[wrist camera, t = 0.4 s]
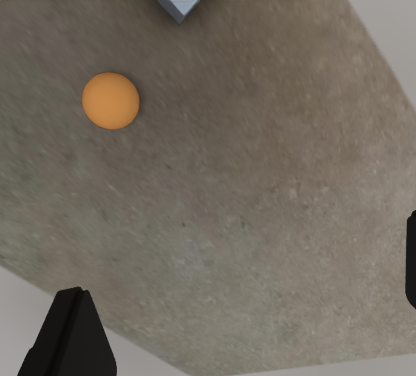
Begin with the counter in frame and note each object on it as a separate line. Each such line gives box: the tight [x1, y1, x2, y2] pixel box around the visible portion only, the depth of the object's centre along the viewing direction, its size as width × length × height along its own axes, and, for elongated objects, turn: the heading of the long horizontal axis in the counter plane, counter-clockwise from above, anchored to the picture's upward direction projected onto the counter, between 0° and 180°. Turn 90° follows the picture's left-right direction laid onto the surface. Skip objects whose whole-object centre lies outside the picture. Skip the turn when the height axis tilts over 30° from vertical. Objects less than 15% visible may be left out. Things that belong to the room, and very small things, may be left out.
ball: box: [82, 72, 139, 129], centre depth 33 cm, size 5×5×5 cm
